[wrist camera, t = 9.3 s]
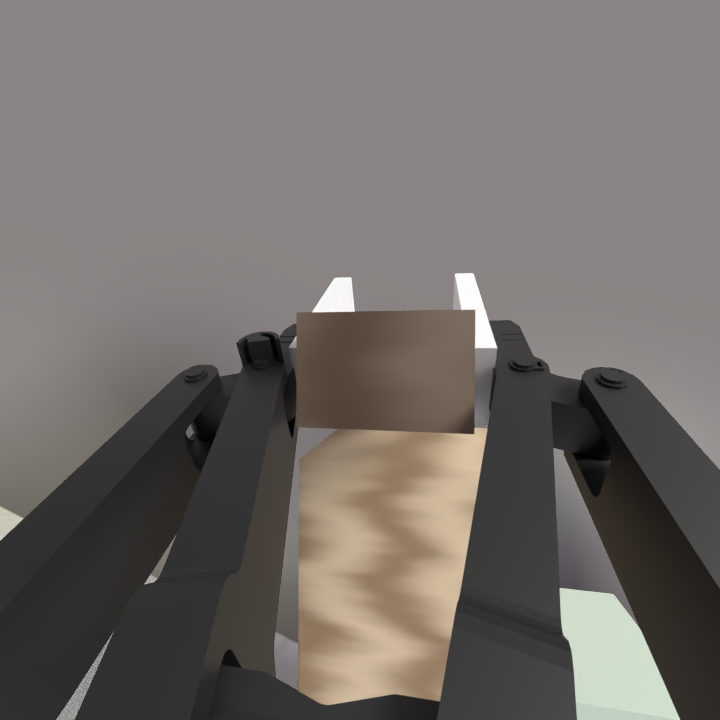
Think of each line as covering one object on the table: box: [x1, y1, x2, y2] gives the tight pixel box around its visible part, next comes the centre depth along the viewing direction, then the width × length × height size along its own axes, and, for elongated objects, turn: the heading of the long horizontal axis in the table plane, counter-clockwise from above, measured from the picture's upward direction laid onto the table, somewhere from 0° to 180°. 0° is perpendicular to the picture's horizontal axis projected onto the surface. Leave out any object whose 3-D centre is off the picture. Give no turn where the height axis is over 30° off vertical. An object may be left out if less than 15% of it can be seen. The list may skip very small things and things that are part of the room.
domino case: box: [296, 310, 475, 434], centre depth 20 cm, size 4×22×3 cm, turn 170°
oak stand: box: [298, 428, 488, 705], centre depth 26 cm, size 12×12×30 cm
